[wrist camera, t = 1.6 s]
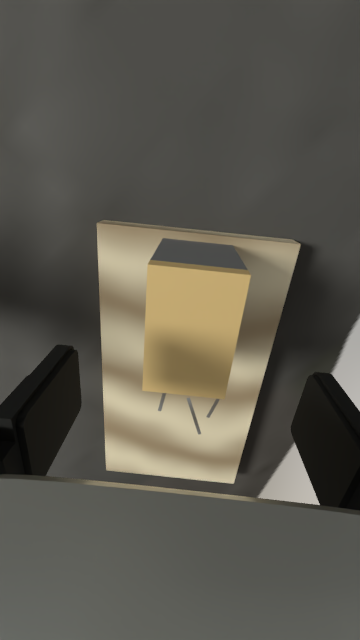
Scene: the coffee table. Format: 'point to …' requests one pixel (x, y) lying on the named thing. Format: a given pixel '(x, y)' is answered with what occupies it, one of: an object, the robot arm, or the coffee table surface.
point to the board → (172, 409)
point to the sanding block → (192, 317)
